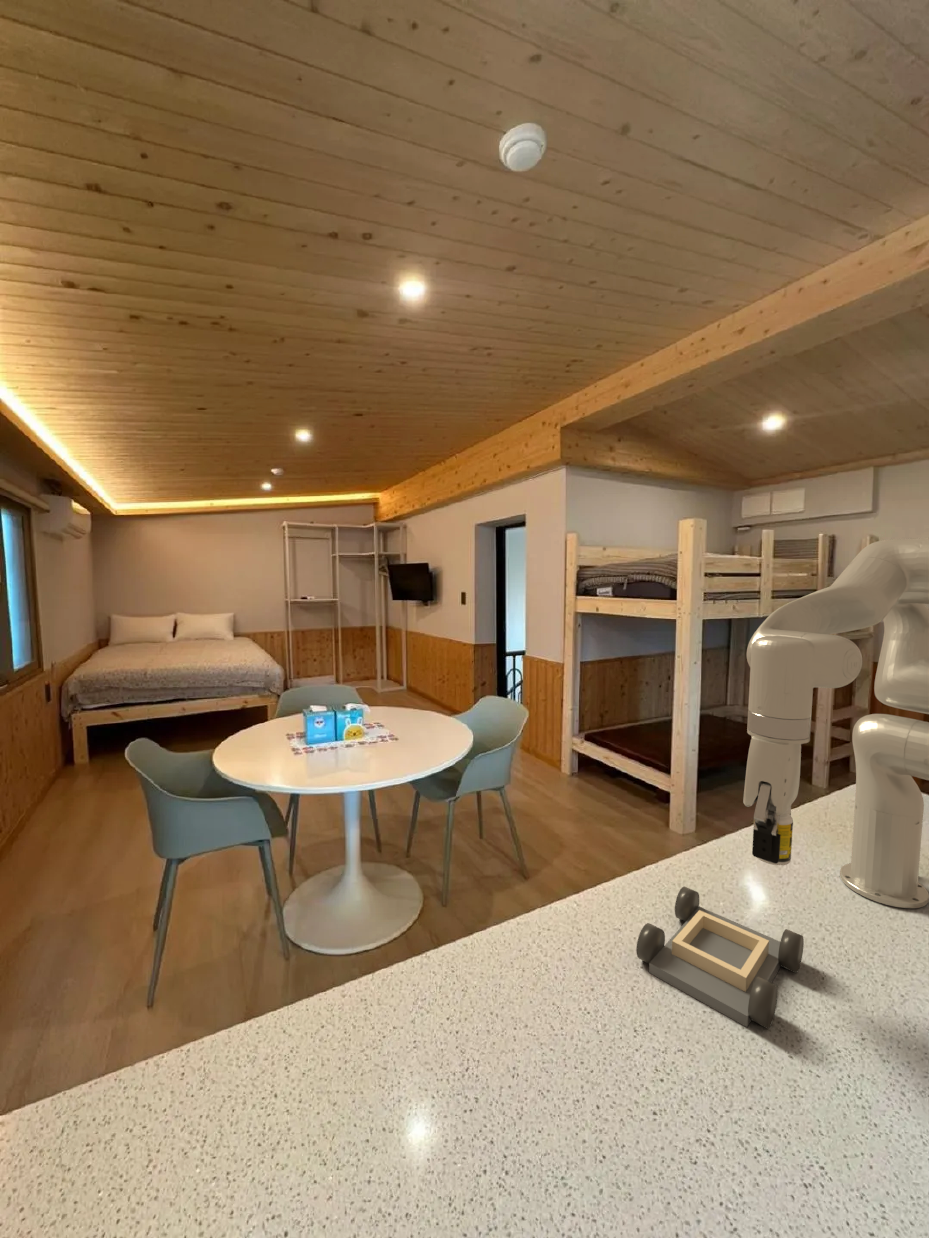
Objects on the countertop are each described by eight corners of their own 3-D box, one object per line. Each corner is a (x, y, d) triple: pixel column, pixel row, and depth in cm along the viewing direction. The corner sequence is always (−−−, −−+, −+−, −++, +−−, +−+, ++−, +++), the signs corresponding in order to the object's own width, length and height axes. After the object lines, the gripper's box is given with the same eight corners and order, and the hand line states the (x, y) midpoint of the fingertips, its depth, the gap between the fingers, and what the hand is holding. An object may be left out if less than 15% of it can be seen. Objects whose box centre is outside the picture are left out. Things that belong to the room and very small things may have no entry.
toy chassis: (686, 909, 90) (687, 881, 90) (802, 961, 78) (804, 929, 78) (635, 965, 77) (636, 932, 77) (764, 1037, 65) (766, 999, 65)
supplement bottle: (796, 868, 72) (800, 808, 72) (759, 864, 73) (762, 805, 73) (782, 850, 77) (785, 794, 76) (747, 847, 78) (750, 791, 77)
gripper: (765, 709, 82) (759, 823, 84) (728, 732, 70) (722, 864, 72) (822, 719, 77) (815, 839, 79) (794, 745, 65) (785, 887, 66)
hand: (771, 850), depth 75 cm, fingers closed on supplement bottle, 4 cm apart
